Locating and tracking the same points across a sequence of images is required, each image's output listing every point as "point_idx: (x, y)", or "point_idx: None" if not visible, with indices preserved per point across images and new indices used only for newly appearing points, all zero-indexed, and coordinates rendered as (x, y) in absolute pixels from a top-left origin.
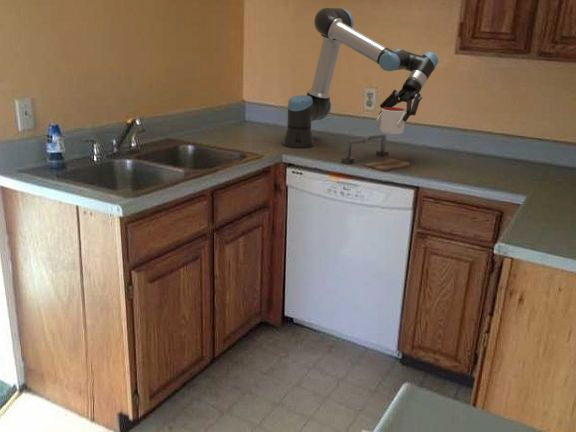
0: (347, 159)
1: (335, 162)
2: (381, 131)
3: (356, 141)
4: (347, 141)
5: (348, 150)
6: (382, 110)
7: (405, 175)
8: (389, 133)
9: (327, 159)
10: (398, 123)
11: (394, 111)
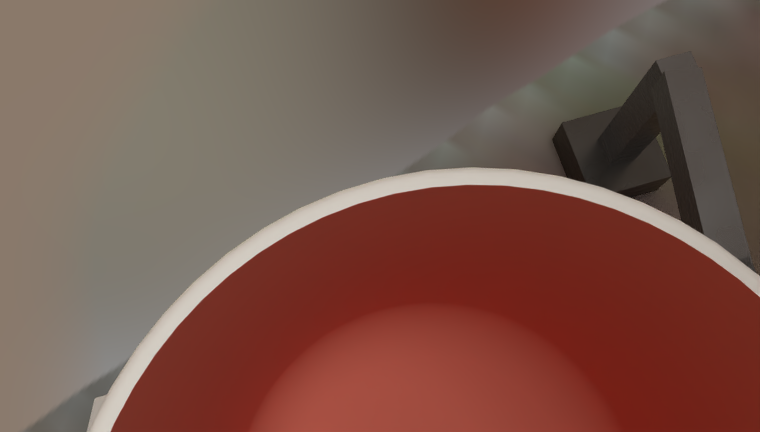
0: (579, 122)
1: (639, 76)
2: (460, 307)
3: (681, 159)
4: (685, 53)
5: (627, 103)
6: (562, 189)
7: (71, 414)
8: (305, 359)
9: (747, 64)
10: (92, 419)
11: (142, 340)
